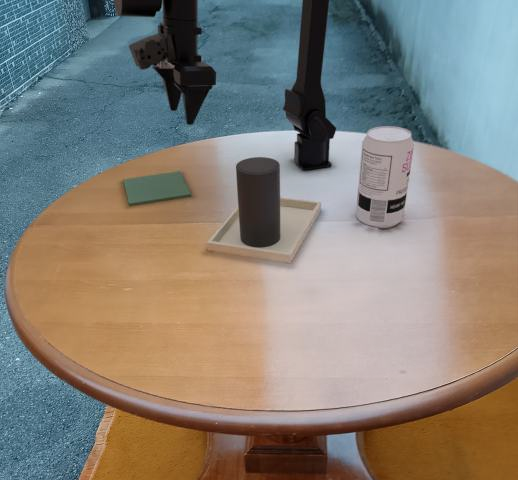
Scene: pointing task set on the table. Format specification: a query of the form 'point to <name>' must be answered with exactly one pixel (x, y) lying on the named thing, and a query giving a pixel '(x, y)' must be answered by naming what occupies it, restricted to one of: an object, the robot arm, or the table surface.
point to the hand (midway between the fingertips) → (181, 117)
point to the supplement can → (384, 176)
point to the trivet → (156, 188)
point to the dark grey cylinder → (259, 201)
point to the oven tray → (291, 232)
